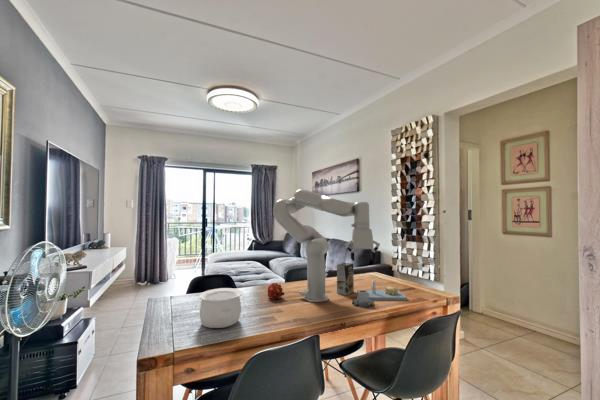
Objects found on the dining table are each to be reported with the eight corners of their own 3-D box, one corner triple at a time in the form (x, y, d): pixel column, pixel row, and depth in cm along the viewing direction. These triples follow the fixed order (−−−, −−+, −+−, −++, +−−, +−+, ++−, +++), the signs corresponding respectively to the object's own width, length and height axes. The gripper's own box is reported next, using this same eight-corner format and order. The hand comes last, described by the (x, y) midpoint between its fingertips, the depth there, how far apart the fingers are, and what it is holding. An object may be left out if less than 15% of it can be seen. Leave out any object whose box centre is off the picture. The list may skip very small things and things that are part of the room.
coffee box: (346, 295, 156) (346, 266, 156) (336, 293, 159) (336, 264, 160) (354, 291, 163) (353, 263, 163) (344, 289, 167) (344, 262, 167)
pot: (196, 317, 124) (196, 289, 125) (235, 311, 131) (236, 285, 132) (201, 337, 104) (202, 304, 105) (247, 329, 111) (247, 298, 112)
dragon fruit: (273, 297, 158) (279, 307, 147) (261, 290, 155) (266, 299, 144) (282, 284, 159) (288, 293, 148) (271, 277, 156) (276, 285, 145)
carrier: (368, 300, 147) (368, 283, 147) (363, 292, 161) (362, 277, 161) (407, 300, 146) (406, 283, 147) (398, 292, 160) (398, 277, 161)
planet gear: (353, 307, 136) (353, 294, 136) (350, 300, 146) (350, 288, 147) (376, 307, 136) (376, 294, 136) (371, 300, 146) (371, 288, 146)
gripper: (345, 226, 139) (346, 261, 138) (381, 226, 139) (382, 261, 138) (343, 226, 147) (344, 259, 146) (377, 225, 146) (378, 259, 145)
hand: (362, 260), depth 142 cm, fingers open, 9 cm apart
